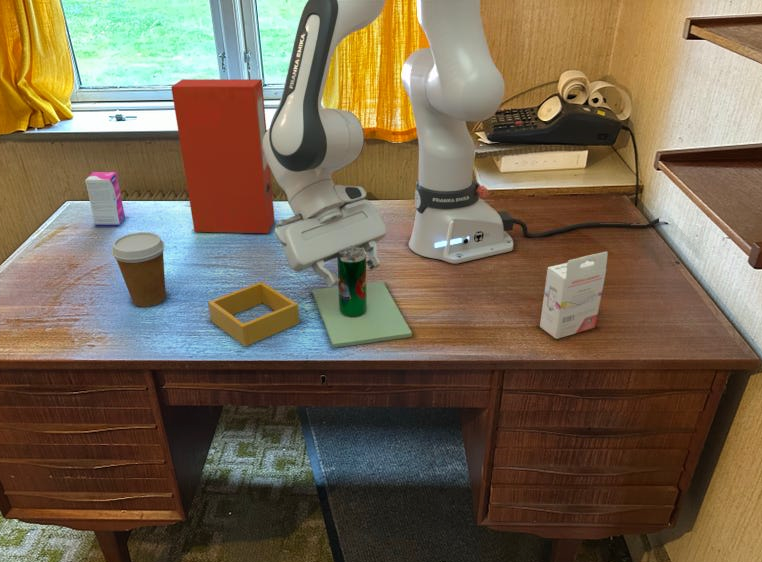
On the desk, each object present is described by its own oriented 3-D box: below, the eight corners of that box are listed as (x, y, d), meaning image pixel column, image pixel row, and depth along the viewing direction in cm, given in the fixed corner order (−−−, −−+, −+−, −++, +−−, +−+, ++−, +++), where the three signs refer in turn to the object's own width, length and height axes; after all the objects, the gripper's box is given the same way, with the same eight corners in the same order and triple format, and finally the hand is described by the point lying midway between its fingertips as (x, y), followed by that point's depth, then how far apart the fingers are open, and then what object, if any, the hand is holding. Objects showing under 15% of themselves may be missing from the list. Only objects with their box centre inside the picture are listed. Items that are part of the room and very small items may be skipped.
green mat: (382, 284, 133) (382, 280, 133) (412, 336, 117) (412, 332, 117) (312, 293, 131) (312, 289, 130) (332, 348, 115) (332, 344, 114)
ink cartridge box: (577, 315, 122) (591, 240, 113) (595, 328, 118) (611, 251, 110) (537, 326, 119) (549, 249, 111) (555, 340, 115) (568, 261, 107)
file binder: (204, 219, 163) (183, 78, 145) (274, 220, 161) (261, 78, 143) (194, 232, 156) (170, 87, 138) (267, 234, 155) (252, 87, 137)
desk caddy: (264, 300, 129) (262, 281, 127) (299, 323, 122) (298, 304, 119) (210, 321, 123) (207, 301, 121) (245, 346, 116) (242, 327, 113)
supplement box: (119, 226, 160) (108, 179, 154) (94, 227, 161) (83, 180, 154) (126, 217, 165) (116, 171, 159) (102, 217, 165) (91, 171, 159)
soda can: (334, 307, 124) (332, 247, 118) (360, 302, 126) (359, 242, 119) (345, 320, 121) (343, 259, 114) (371, 314, 122) (370, 253, 115)
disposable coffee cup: (161, 313, 126) (149, 254, 119) (114, 309, 128) (100, 250, 121) (182, 289, 134) (171, 232, 127) (137, 285, 135) (125, 229, 129)
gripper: (276, 215, 112) (315, 288, 111) (369, 184, 122) (406, 251, 121) (264, 232, 117) (301, 302, 116) (354, 201, 128) (389, 265, 127)
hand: (355, 276), depth 119 cm, fingers open, 8 cm apart
